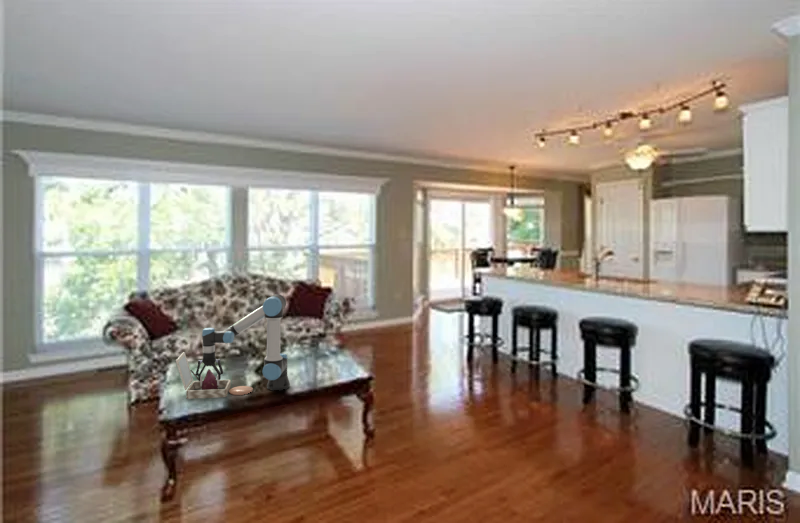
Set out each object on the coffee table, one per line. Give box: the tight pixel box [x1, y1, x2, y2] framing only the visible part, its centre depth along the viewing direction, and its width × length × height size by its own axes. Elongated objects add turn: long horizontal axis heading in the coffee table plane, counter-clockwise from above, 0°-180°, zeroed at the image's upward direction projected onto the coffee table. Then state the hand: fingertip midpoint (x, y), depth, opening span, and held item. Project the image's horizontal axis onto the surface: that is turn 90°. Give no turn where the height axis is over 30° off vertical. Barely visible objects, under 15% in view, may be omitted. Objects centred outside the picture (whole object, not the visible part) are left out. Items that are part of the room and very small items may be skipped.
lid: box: [175, 351, 194, 391], centre depth 323 cm, size 20×20×1 cm
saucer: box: [228, 385, 254, 396], centre depth 331 cm, size 15×15×1 cm
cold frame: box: [185, 369, 232, 400], centre depth 326 cm, size 26×20×13 cm
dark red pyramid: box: [201, 368, 219, 390], centre depth 327 cm, size 10×10×15 cm
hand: (209, 385), depth 326 cm, fingers closed on dark red pyramid, 10 cm apart
